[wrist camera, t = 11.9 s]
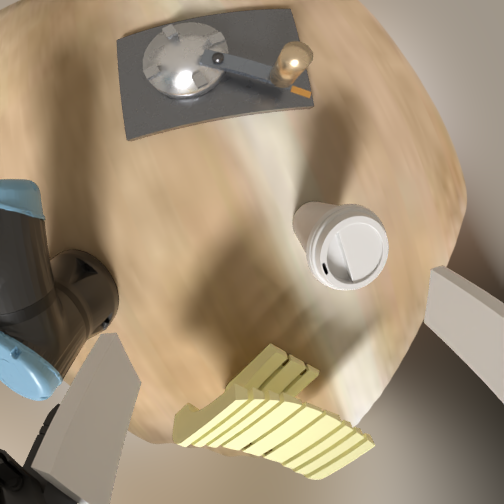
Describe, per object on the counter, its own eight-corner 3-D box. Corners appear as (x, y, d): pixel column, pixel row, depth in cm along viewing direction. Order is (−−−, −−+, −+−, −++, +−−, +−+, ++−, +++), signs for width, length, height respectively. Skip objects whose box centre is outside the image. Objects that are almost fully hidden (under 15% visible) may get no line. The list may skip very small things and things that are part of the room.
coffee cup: (282, 190, 39) (314, 206, 25) (344, 191, 40) (399, 208, 25) (281, 254, 42) (308, 301, 28) (340, 252, 43) (387, 292, 28)
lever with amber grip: (137, 91, 31) (102, 65, 19) (165, 27, 28) (144, -16, 16) (274, 124, 34) (297, 107, 22) (297, 58, 31) (325, 20, 19)
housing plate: (131, 141, 35) (126, 140, 33) (121, 44, 29) (116, 39, 27) (310, 108, 35) (314, 105, 33) (287, 14, 30) (290, 8, 28)
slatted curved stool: (181, 374, 48) (170, 450, 31) (231, 319, 45) (235, 400, 28) (294, 424, 55) (310, 485, 38) (344, 383, 52) (375, 445, 35)
